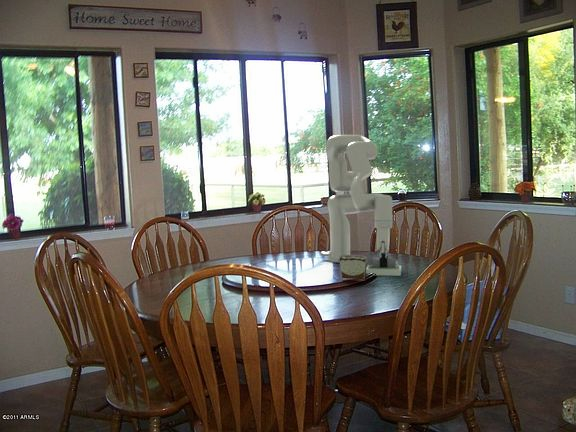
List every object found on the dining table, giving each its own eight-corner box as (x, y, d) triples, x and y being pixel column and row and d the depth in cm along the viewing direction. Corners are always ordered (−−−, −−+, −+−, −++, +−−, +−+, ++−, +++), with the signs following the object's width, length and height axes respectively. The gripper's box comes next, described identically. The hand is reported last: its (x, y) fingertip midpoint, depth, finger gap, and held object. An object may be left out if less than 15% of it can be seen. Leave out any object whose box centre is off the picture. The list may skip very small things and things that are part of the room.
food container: (370, 278, 269) (370, 254, 268) (367, 281, 263) (367, 257, 262) (342, 277, 273) (341, 253, 272) (338, 280, 267) (337, 256, 266)
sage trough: (366, 275, 276) (366, 269, 276) (367, 270, 285) (367, 265, 284) (400, 275, 273) (400, 269, 273) (401, 271, 282) (401, 265, 282)
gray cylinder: (371, 268, 277) (371, 258, 277) (372, 266, 282) (372, 256, 281) (397, 269, 275) (397, 259, 275) (397, 267, 280) (397, 257, 279)
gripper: (375, 221, 285) (376, 262, 287) (373, 226, 269) (373, 269, 271) (393, 221, 284) (393, 262, 286) (391, 226, 267) (391, 270, 270)
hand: (383, 265), depth 278 cm, fingers closed on gray cylinder, 4 cm apart
